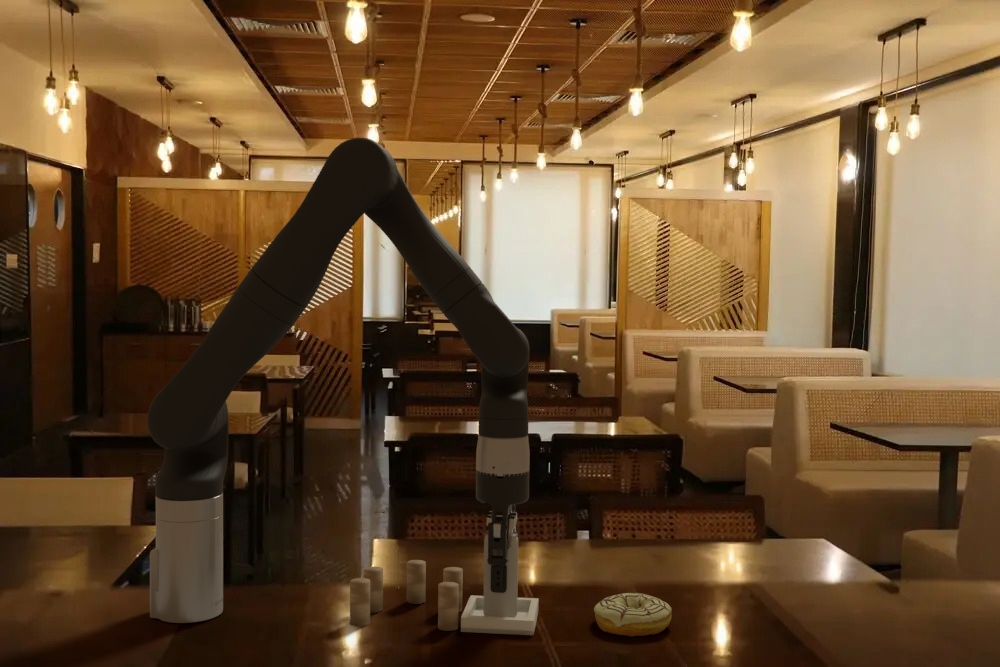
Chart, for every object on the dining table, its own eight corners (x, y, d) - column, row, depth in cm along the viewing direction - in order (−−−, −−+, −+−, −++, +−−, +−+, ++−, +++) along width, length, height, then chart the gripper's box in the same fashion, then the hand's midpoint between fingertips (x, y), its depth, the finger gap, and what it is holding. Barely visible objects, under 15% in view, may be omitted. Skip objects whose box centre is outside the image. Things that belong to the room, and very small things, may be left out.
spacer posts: (347, 625, 141) (347, 583, 141) (369, 596, 154) (370, 557, 154) (456, 631, 140) (457, 588, 139) (469, 601, 153) (469, 562, 153)
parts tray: (460, 631, 140) (461, 617, 139) (470, 608, 149) (470, 595, 149) (533, 635, 138) (533, 620, 138) (538, 611, 148) (538, 598, 148)
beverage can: (513, 624, 141) (514, 538, 141) (479, 621, 142) (480, 536, 142) (520, 613, 146) (521, 530, 145) (487, 610, 147) (488, 528, 146)
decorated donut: (580, 620, 146) (581, 594, 146) (645, 611, 150) (645, 586, 150) (617, 644, 136) (618, 616, 136) (685, 633, 140) (685, 606, 140)
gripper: (482, 457, 150) (480, 569, 151) (469, 475, 136) (467, 599, 137) (533, 459, 150) (531, 572, 150) (525, 477, 135) (523, 602, 136)
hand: (501, 584), depth 144 cm, fingers open, 6 cm apart
